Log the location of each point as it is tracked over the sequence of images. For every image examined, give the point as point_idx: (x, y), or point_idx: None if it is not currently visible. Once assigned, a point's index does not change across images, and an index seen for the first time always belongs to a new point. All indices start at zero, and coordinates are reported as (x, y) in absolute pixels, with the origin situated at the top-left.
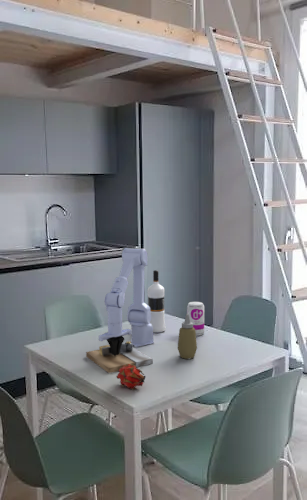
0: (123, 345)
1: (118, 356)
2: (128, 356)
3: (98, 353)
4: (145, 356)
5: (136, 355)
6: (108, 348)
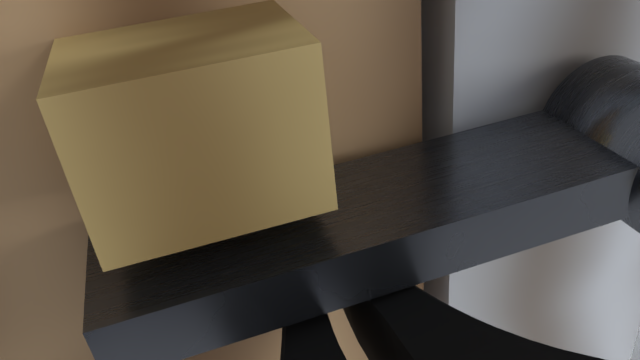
0: (564, 227)
1: None
2: (464, 302)
3: (28, 27)
4: (610, 331)
5: (558, 288)
6: (236, 328)
